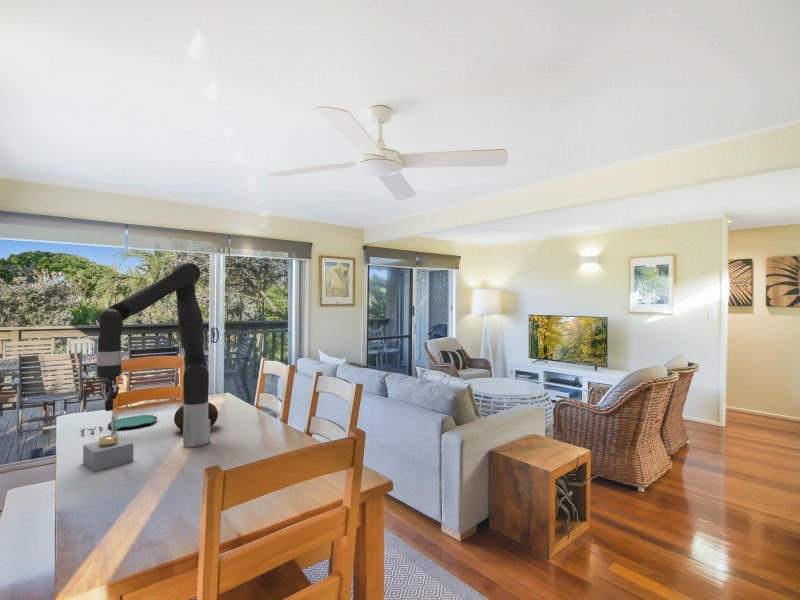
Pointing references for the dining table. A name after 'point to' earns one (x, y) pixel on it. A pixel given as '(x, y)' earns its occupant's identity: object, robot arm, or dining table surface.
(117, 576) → the dining table surface
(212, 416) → the dark brown ellipsoid
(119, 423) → the cutlery set
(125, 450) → the slate block
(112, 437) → the brass knob
